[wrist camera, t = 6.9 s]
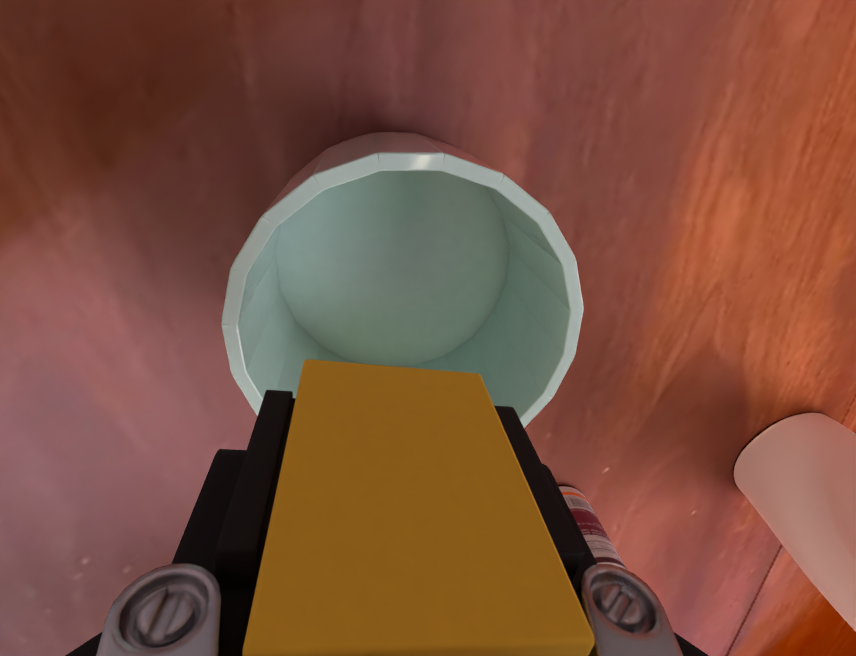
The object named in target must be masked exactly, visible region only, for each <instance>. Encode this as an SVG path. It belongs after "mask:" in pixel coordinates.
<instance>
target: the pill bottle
mask: <svg viewBox="0 0 856 656" xmlns="http://www.w3.org/2000/svg"><path fill="white" fill-rule="evenodd" d="M559 489H560V491H561V493H562V495H563V497H564V499H565V501H566V503H567V505H568V507H569V508H570V510H571V512H572V514H573V516H574V518H575V520H576V522H577V524H578V526H579V528H580V530H581V532H582V534H583V536H584V538H585V540H586V542H587V544H588V546H589V548H590V550H591V552H592V554H593V556H594V558H595V560H596V562H597V564H612V565H615V566H618V567H622V568H624V569H626V567H625V565H624V564H623V562H622V560H621V559H620V557H619V555H618V553H617V552H616V550H615V548H614V546H613V545H612V543H611V541H610V539H609V538H608V536H607V534H606V532H605V530H604V529H603V527H602V525H601V524H600V522H599V520H598V518H597V516H596V514H595V513H594V511H593V509H592V507H591V506H590V504H589V502H588V501H587V499H586V497H585V496H584V495H583V494H582V493H581V492H580V491H579V490H577V489H575V488H572V487H565V486H560V487H559ZM626 570H627V569H626Z"/></svg>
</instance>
